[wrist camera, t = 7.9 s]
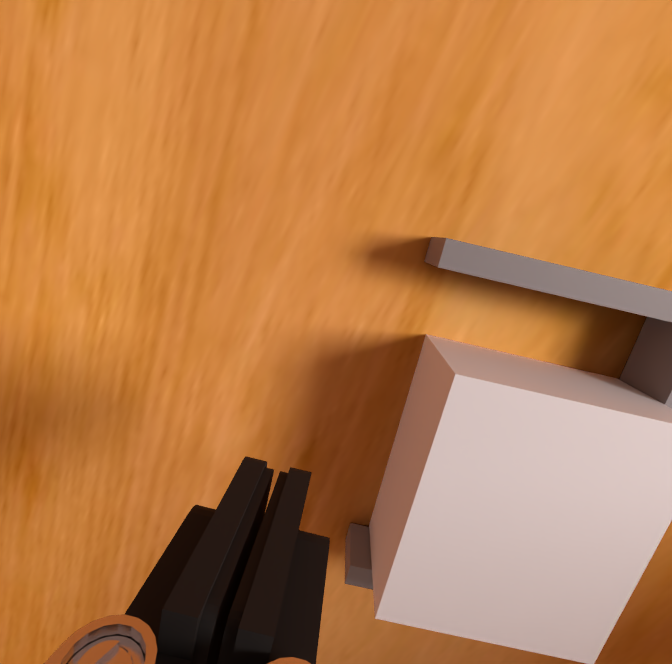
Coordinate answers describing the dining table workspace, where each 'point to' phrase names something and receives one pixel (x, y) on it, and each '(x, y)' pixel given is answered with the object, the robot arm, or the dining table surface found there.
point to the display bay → (657, 304)
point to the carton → (519, 501)
